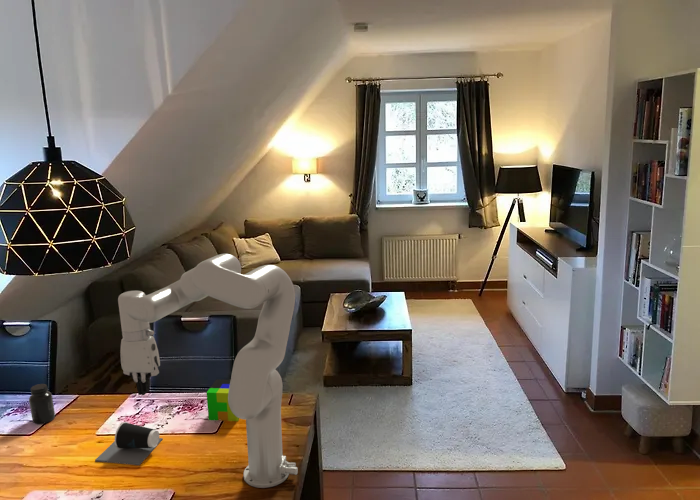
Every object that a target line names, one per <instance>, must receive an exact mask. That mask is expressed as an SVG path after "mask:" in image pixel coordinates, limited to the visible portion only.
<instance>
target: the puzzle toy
mask: <svg viewBox="0 0 700 500" xmlns="http://www.w3.org/2000/svg"><path fill="white" fill-rule="evenodd" d="M230 381H231V379H220V378H219V379H218V378H217V379H215V380H214V381H213V383H212V384H211V386H210V387H209V389H207V391H206V403H207V415H208V421H225V422H239V420H240V418H238V417H236V416H235V415H234V414H233V413H232V411H231V409H230V407H229V403H228V393H229V387H230Z"/></svg>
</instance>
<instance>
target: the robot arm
mask: <svg viewBox="0 0 700 500" xmlns="http://www.w3.org/2000/svg"><path fill="white" fill-rule="evenodd" d="M241 272H242V265H241V262H240V260H239V259H238V258H237V257H236V256H235V255H233V254H230V253H221V254H216V255H215V256H212V257H209V258H207V259H205V260H203V261H201V262H199V263H198V264H197V265H196V266H195V267H194V268H191V269H189V270H187V271H186V272H184V273H182V275H181V276H180V279H178V280H177V281H175V282H172V283H171V284H169V285H167V286H165V287H163V288H160V289H159V290H156V291H154V292H151V293H149V294H146V293H145V292H143V291H142V290H128V291H124V292H123V293H121V294H119V295H118V298H117V303H118V312H119V318H120V325H121V326H120V327H121V335H122V339H121V341H120V350H119V351H120V352H119V353H120V364H121V369H122V370H123V374H124V375H127V376H130V377H131V378H132V379H133V381H134V383H136V389H137V394H138V396H145V395H146V394H147V393H148V392H149V391H150V383H149V379H151V377H155V376H158V375H159V374H160V370H159V367H160V366H161V361H160V354H159V353H160V352H159V349H158V345H157V341H156V338H155V337H154V334H155V331H154V330H152V329H151V325H150V324H151V323H155V322H157V321H159V320H161V319H162V318H164V317H166V316H168V315H170V314H173V313H175V312H177V311H178V310H180V309H183V308H184V307H186V306H188V305H190V304H192V303H193V302H200V301H202V300H204V299H205V298H207V297H210V298H212V299H216V300H218V301H221V302H223V303H225V304H229V305H231V306H234V307H238V308H241V309H255V308H257V307H259V306H261V305H262V304H263V305H262V307H261V310H260V313H259V316H258V318H257V319H258V320H257V326H256V331H255V334H254V337H253V338H252V340H250V341H249V342H248V343H247V344H246V345H244V346H243V347H242V348H241V349H240V350H239V351H238V352H237V355H236V356H235V359H234V362H233V365H232V371H231V377H230V380H231V381H230V387H229V393H228V403H229V407H230V409H231V411H232V413H233V414H234V415H235V416H236V417H238V418H239V420H240V419H241V420H245V426H246V430H245V431H246V441H247V442H246V443H247V458H248V461H247V462H248V465H247V466H246V468H244V470H243V480H244V482H245V483H246V484H248V485H249V486H251V487H254V488H261V489H265V488H273V487H276V486H279V485H280V484H282V483H283V482H285V481H286V480H287V478H288V477H289V475H298V473H299V471H298V470H299V469H298V468H299V467H297V466H296V464H297V463H296V462H292V461H291V462H289V461H288V460H287V456H286V455H283V434H282V398H283V380H282V379H283V378H282V376H281V375H280V373H279V371H278V370H277V368H278V367H279V366H280V365H281V364H282V363H283V360H284V359H285V356H286V350H287V345H288V340H289V336H290V335H289V334H290V331H291V330H290V329H291V324H292V319H293V314H294V310H295V305H296V303H295V302H296V292H295V291H296V290H295V287H294V283H293V281H292V280H291V279H292V278H290V276H289V274H287V272H286V271H285V270H284V269H282V268H281V267H279V266H277V265H274V264H265V265H260V266H258V267H257V268H254V269H252V270H250V271H249V272H247V273H245V274H241Z"/></svg>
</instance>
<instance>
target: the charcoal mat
mask: <svg viewBox="0 0 700 500" xmlns="http://www.w3.org/2000/svg"><path fill="white" fill-rule="evenodd" d="M163 439H164V438H163V437H159V442H158V444H157V445H156V447H152V448H123V449H118V448H117V447H116V445H115V440H114V441H113V442H112V443H111V444H110V445H109V446H108V447H107V448H106V449H105V450H104V451H102V452H101V453H100V454H99V455H98V456H97V458H96V459H95V462H97V463H98V462H100V463H108V464H109V463H111V464H121V465H131V466H132V465H133V466H140V465H141V464H142V463H143V462H144V461H145V460H146V459H147V457H149V455H150V454H152V452H153V451H154V450H155V448H157V446H158V445H159V444H160V443H161V442H162V441H163Z"/></svg>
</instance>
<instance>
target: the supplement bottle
mask: <svg viewBox="0 0 700 500" xmlns="http://www.w3.org/2000/svg"><path fill="white" fill-rule="evenodd" d="M30 394H31V395H29V398H28V403H29V406H30V407H29V408H30V414H31V419H32V422H33V424H35V425H44V424H47V423H50V422H52V421H53V420H54V419H55V417H56V413H55V407H54V400H53V395H52V392H50V391H49V389H48V385H47V384H45V383H40V384H35V385H32V386H31V387H30Z"/></svg>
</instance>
